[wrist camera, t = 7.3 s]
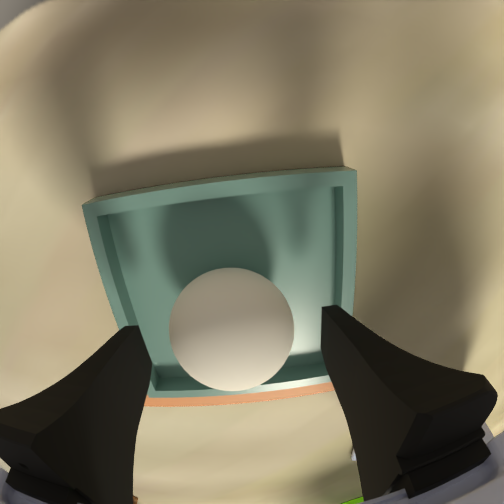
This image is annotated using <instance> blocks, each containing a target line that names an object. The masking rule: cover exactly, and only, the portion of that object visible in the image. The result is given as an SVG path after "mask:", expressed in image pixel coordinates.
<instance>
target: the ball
mask: <svg viewBox="0 0 504 504" xmlns="http://www.w3.org/2000/svg"><path fill="white" fill-rule="evenodd" d="M169 338H170V343H171V347H172V350H173V352H174V355H175V357H176V358H177V360H178V362H179V363H180V365H181V366H182V367H183V369H184V370H185V371H186V372H187V373H188V374H189V375H190V376H191V377H193V378H194V379H195V380H197V381H199V382H200V383H202V384H204V385H206V386H208V387H211V388H214V389H218V390H223V391H241V390H246V389H250V388H253V387H256V386H258V385H260V384H262V383H264V382H266V381H267V380H269V379H270V378H271V377H273V376H274V375H275V374H276V373H277V372H278V371H279V370H280V368H281V367H282V366H283V365H284V363H285V361H286V360H287V358H288V356H289V353H290V351H291V348H292V344H293V340H294V320H293V316H292V312H291V309H290V307H289V304H288V302H287V300H286V298H285V297H284V295H283V294H282V292H281V291H280V290H279V289H278V288H277V287H276V286H275V285H274V284H273V283H272V282H271V281H270V280H268V279H266V278H265V277H263V276H262V275H260V274H258V273H256V272H253V271H250V270H247V269H242V268H220V269H215V270H212V271H209V272H207V273H204V274H202V275H200V276H199V277H197V278H196V279H194V280H193V281H192V282H190V283H189V284H188V285H187V286H186V287H185V288H184V289H183V290H182V292H181V293H180V295H179V296H178V297H177V299H176V301H175V303H174V306H173V308H172V311H171V315H170V320H169Z"/></svg>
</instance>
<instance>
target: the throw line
mask: <svg viewBox="0 0 504 504" xmlns="http://www.w3.org/2000/svg"><path fill="white" fill-rule="evenodd" d="M333 390H335V389H334V387H333V384H332V382H327V383H321V384H316V385H310V386H303V387H297V388H290V389H283V390H275V391H267V392H258V393H248V394H237V395H224V396H208V397H183V398H149V397H148V395H147V396H146V400H145V403H144V406H163V407H171V406H209V405H226V404H239V403H250V402H260V401H269V400H277V399H284V398H291V397H298V396H305V395H311V394H316V393H322V392H328V391H333Z"/></svg>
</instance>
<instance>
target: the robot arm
mask: <svg viewBox="0 0 504 504" xmlns="http://www.w3.org/2000/svg"><path fill="white" fill-rule="evenodd" d="M320 348H321V351H322V355H323V359H324V363H325V367H326V370H327V372H328V375H329V377H330V379H331V382H332V384H333V387H334V389H335V392H336V394H337V396H338V399H339V401H340V404H341V406H342V409H343V411H344V414H345V417H346V420H347V423H348V427H349V431H350V435H351V439H352V443H353V447H354V448H353V452H352V455H351V459H352V460H353V461H356V460H357V465H358V470H359V475H360V481H361V487H362V493H363V500H364V502H361V503H357V504H504V431H503V432H502V433H500V434H499V435H497V436H495V437H493V434H492V432H491V431H490V429H489V427H488V426H487V424H486V423H485V421H486V419H487V418H488V416H489V415H490V413H491V412H492V410H493V408H494V406H495V404H496V401H497V397H498V395H497V392H496V390H495V389H494V388H493V386H492V385H491V384H490V383H489V381H488V380H487V379H486V377H485V376H484V375H481V374H475V373H469V372H464V371H459V370H455V369H451V368H448V367H444V366H441V365H438V364H435V363H432V362H429V361H427V360H424V359H422V358H419V357H417V356H414V355H412V354H410V353H408V352H406V351H404V350H402V349H400V348H398V347H396V346H395V345H393V344H391V343H389V342H388V341H386V340H385V339H383V338H381V337H380V336H378V335H377V334H375V333H374V332H372V331H371V330H370V329H368V328H367V327H365V326H364V325H363V324H361V323H360V322H359V321H357V320H356V319H355V318H353V317H352V316H351V315H350V314H348V313H347V312H346V311H345V310H343V309H342V308H341V307H339V306H338V305H330V306H324V307H322V314H321V346H320ZM151 371H152V361H151V358H150V356H149V353H148V350H147V348H146V345H145V342H144V340H143V337H142V334H141V331H140V328H139V325H132V326H124V327H123V328H122V329H120V330H119V331H118V332H117V333H116V334H115V335H114V336H112V337H111V338H110V339H109V340H108V341H107V342H106V343H105V344H104V345H103V346H102V347H100V348H99V349H98V350H97V351H96V352H95V353H94V354H93V355H92V356H91V357H89V358H88V359H87V360H86V361H85V362H83V363H82V364H81V365H80V366H79V367H78V368H76V369H75V370H74V371H73V372H71V373H70V374H68V375H67V376H66V377H64V378H63V379H61V380H60V381H58V382H57V383H55V384H54V385H52V386H50V387H49V388H47V389H45V390H43V391H42V392H40V393H38V394H36V395H34V396H32V397H30V398H28V399H26V400H23V401H21V402H19V403H16V404H13V405H10V406H7V407H4V408H1V409H0V458H1V459H2V460H3V461H4V462H6V463H7V464H8V465H9V466H10V467H11V469H10V471H9V473H8V472H7V471H5V470H4V469H2V468H0V504H133V465H134V452H135V443H136V435H137V430H138V426H139V422H140V418H141V414H142V411H143V407H144V403H145V400H146V396H147V392H148V389H149V385H150V378H151Z"/></svg>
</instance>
